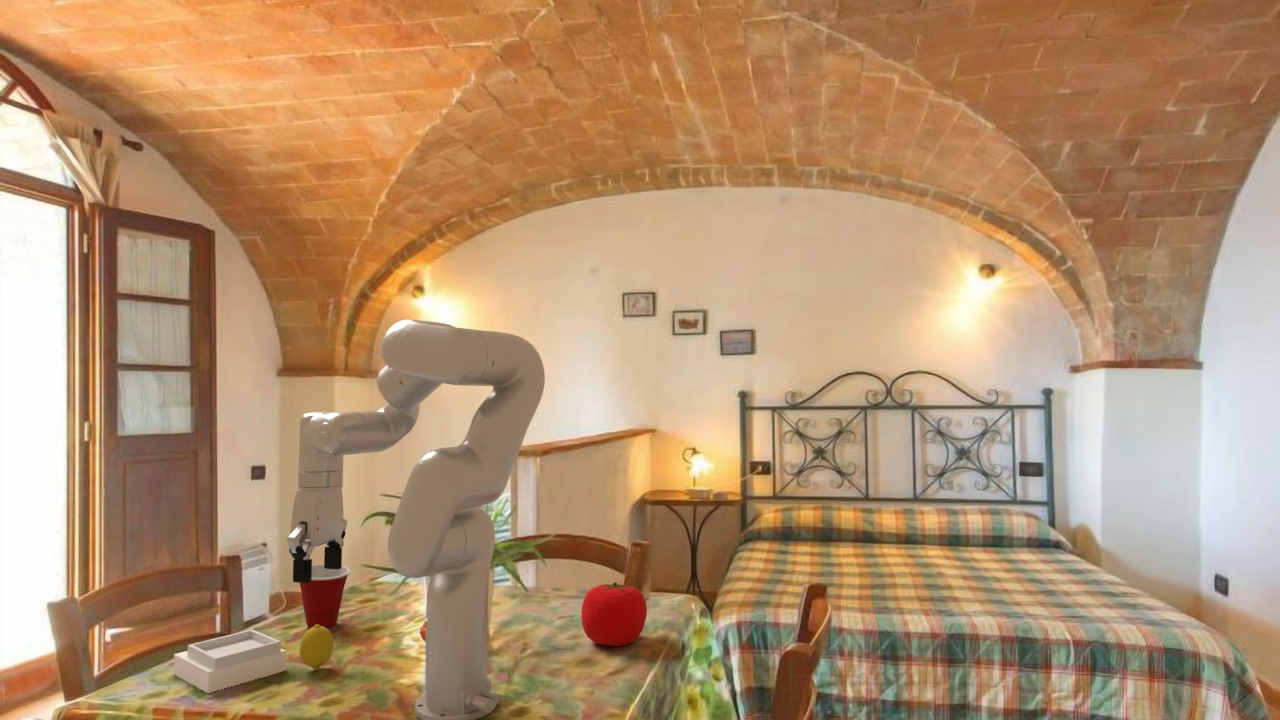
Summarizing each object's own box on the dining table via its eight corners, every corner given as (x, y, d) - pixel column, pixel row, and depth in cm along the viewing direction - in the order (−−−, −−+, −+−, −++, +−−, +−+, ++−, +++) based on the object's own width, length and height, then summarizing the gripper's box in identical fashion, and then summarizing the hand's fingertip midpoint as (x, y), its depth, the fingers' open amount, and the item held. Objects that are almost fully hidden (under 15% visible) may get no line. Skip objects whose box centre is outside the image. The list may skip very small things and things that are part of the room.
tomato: (571, 651, 142) (572, 589, 142) (593, 629, 155) (593, 573, 155) (636, 656, 138) (636, 594, 139) (652, 633, 152) (652, 576, 152)
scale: (285, 670, 132) (286, 639, 132) (207, 693, 121) (208, 660, 122) (249, 653, 140) (249, 624, 140) (173, 674, 130) (174, 643, 130)
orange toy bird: (437, 603, 154) (418, 621, 142) (471, 615, 153) (454, 634, 141) (429, 626, 153) (409, 646, 141) (463, 638, 153) (446, 659, 141)
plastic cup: (319, 637, 150) (320, 577, 150) (283, 629, 155) (284, 572, 155) (360, 622, 160) (361, 566, 160) (325, 615, 164) (326, 561, 165)
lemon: (320, 676, 129) (321, 630, 129) (292, 674, 130) (293, 628, 130) (339, 665, 134) (340, 620, 135) (312, 663, 135) (313, 619, 136)
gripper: (327, 474, 143) (325, 563, 142) (271, 485, 126) (268, 587, 125) (364, 475, 142) (361, 565, 141) (312, 486, 125) (309, 589, 124)
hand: (317, 575), depth 133 cm, fingers open, 9 cm apart
